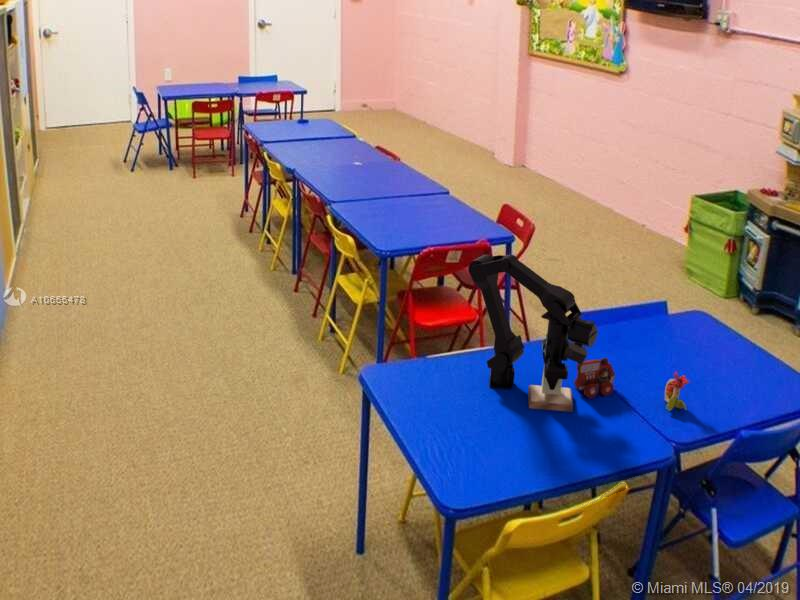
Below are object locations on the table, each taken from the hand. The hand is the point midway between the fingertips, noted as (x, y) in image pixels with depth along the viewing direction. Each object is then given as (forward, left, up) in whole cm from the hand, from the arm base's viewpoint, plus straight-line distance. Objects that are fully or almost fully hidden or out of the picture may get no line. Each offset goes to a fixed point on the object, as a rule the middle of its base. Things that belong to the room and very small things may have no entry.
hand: (551, 384), depth 237 cm
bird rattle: (+34, +3, -6) cm, 35 cm away
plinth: (0, 0, -6) cm, 6 cm away
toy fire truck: (+13, +8, -6) cm, 16 cm away
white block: (0, 0, -2) cm, 2 cm away
